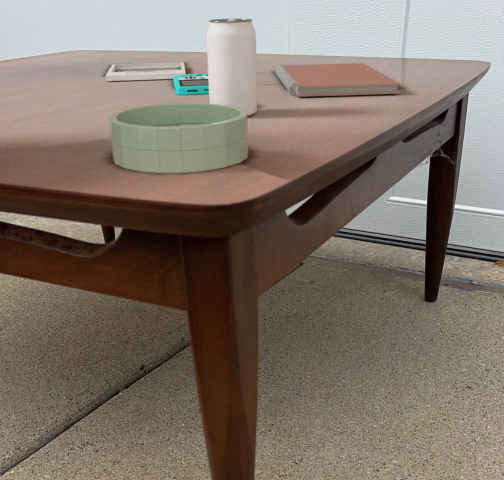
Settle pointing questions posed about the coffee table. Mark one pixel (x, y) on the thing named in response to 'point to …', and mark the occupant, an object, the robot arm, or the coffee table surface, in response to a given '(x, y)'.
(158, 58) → the coffee table surface
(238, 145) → the bowl
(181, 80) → the handheld game console
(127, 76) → the photo frame
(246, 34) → the can
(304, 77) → the notebook
